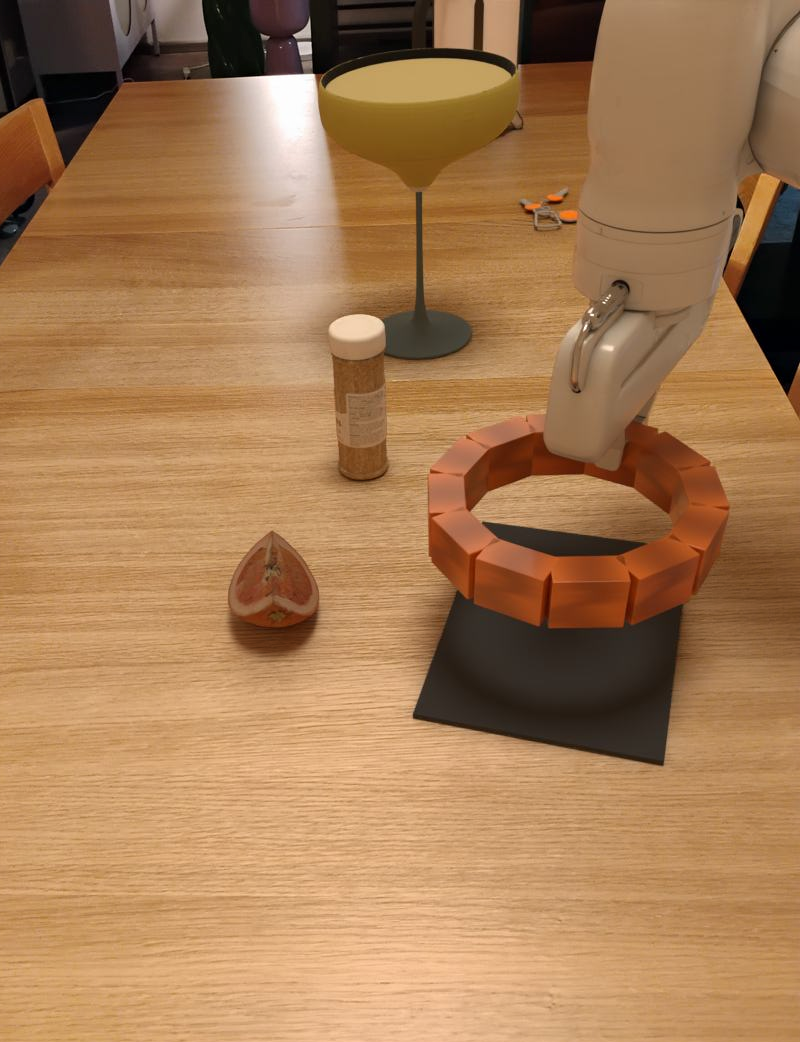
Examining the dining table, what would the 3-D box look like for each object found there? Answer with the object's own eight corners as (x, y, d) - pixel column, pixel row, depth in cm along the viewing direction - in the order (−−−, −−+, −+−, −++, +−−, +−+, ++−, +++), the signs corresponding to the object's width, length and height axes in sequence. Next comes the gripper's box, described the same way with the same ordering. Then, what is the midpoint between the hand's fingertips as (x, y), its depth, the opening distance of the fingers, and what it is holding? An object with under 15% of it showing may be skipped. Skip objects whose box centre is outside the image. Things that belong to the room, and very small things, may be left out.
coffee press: (420, 117, 163) (418, -114, 143) (523, 113, 161) (535, -123, 141) (412, 154, 151) (409, -94, 131) (523, 150, 148) (537, -103, 128)
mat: (482, 525, 83) (482, 520, 83) (688, 552, 79) (689, 548, 78) (412, 717, 68) (412, 713, 68) (663, 765, 64) (664, 761, 63)
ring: (595, 430, 77) (600, 387, 74) (779, 562, 64) (792, 516, 62) (379, 508, 71) (377, 464, 69) (533, 668, 59) (537, 622, 57)
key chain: (588, 227, 126) (588, 220, 125) (527, 231, 126) (528, 224, 126) (571, 190, 135) (572, 183, 135) (515, 194, 136) (516, 187, 135)
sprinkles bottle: (338, 455, 92) (327, 313, 83) (388, 452, 92) (383, 310, 83) (338, 484, 89) (327, 340, 80) (390, 481, 89) (386, 336, 80)
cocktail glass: (393, 286, 118) (386, 40, 101) (537, 317, 109) (556, 55, 92) (301, 353, 107) (276, 92, 91) (452, 393, 99) (455, 113, 82)
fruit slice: (322, 650, 74) (317, 597, 70) (229, 657, 74) (219, 605, 70) (319, 577, 80) (314, 525, 76) (233, 584, 80) (224, 532, 77)
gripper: (635, 335, 54) (604, 544, 64) (752, 203, 66) (712, 395, 76) (525, 313, 57) (511, 516, 66) (657, 190, 69) (629, 376, 78)
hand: (619, 450), depth 71 cm, fingers closed on ring, 2 cm apart
